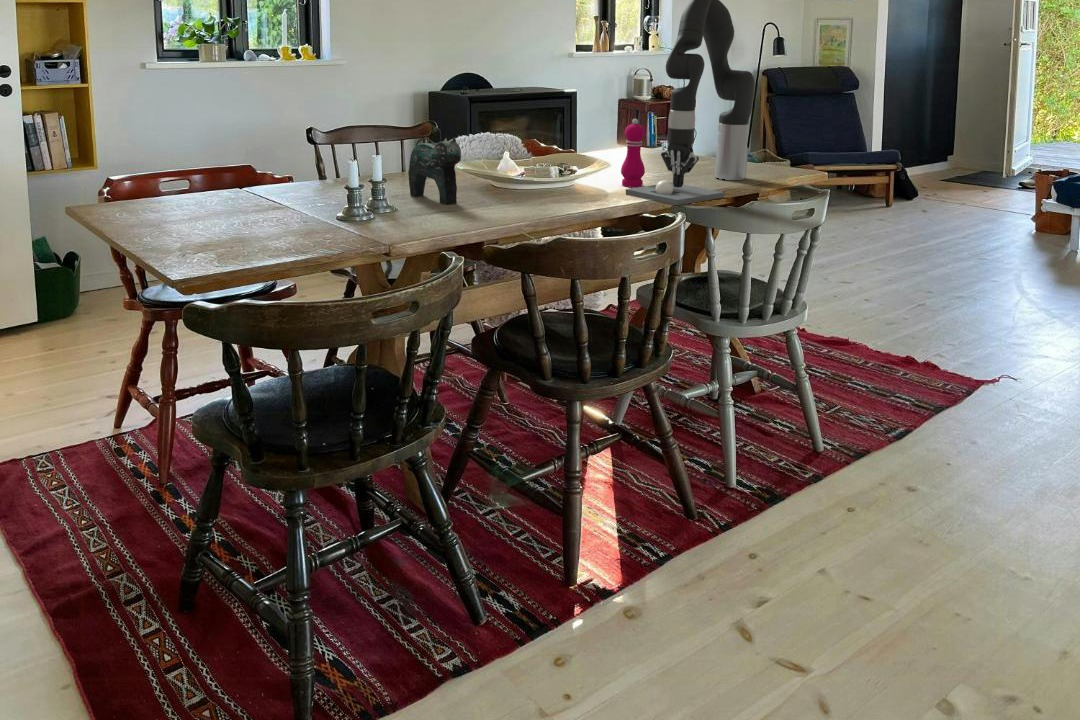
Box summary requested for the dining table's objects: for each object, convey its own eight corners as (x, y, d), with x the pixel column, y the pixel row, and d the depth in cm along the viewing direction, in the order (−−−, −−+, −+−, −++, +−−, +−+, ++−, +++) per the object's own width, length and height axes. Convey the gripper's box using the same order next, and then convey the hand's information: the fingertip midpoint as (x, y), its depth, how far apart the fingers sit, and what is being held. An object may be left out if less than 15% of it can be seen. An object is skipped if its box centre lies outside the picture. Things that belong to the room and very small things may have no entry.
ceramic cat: (463, 204, 290) (463, 130, 283) (444, 207, 286) (443, 131, 279) (421, 193, 304) (420, 122, 297) (402, 195, 300) (400, 124, 293)
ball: (650, 183, 303) (653, 199, 305) (663, 187, 299) (666, 202, 302) (661, 175, 305) (665, 190, 308) (674, 178, 301) (678, 193, 304)
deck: (672, 187, 320) (672, 182, 320) (723, 197, 306) (724, 192, 306) (625, 194, 308) (625, 189, 307) (677, 205, 294) (677, 199, 293)
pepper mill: (642, 188, 318) (646, 120, 311) (618, 187, 319) (621, 119, 312) (645, 184, 324) (648, 117, 318) (621, 183, 326) (624, 116, 319)
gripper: (708, 127, 299) (703, 189, 305) (673, 123, 308) (669, 182, 314) (690, 129, 294) (686, 191, 300) (655, 124, 303) (652, 185, 309)
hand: (677, 186), depth 307 cm, fingers closed
